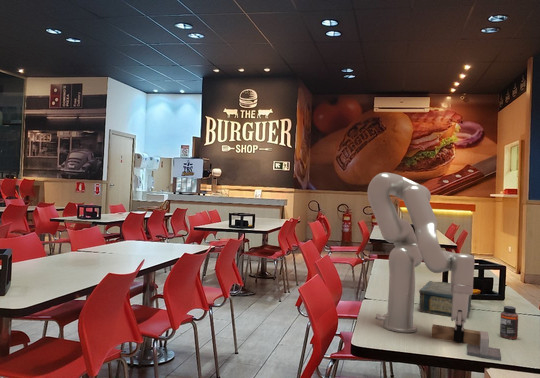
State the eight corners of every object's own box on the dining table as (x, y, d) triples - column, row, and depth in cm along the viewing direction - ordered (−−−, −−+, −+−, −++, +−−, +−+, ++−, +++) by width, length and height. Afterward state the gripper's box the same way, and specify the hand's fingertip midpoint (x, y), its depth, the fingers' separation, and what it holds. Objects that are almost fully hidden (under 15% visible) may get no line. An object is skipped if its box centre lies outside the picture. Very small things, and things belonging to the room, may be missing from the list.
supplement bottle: (512, 335, 185) (513, 305, 185) (520, 340, 179) (522, 309, 179) (496, 334, 185) (498, 304, 185) (504, 339, 179) (506, 308, 179)
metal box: (416, 312, 215) (417, 289, 215) (427, 299, 244) (428, 279, 245) (468, 320, 206) (469, 296, 206) (472, 306, 235) (474, 285, 235)
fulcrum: (466, 354, 158) (467, 336, 158) (467, 346, 167) (468, 329, 167) (501, 360, 154) (502, 341, 154) (499, 351, 163) (500, 333, 163)
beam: (431, 337, 176) (432, 326, 176) (432, 335, 179) (432, 324, 179) (486, 346, 169) (486, 335, 169) (485, 343, 172) (486, 332, 172)
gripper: (451, 283, 183) (448, 332, 183) (449, 291, 168) (446, 344, 168) (472, 286, 180) (470, 336, 180) (472, 294, 165) (469, 348, 165)
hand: (458, 339), depth 174 cm, fingers closed on beam, 4 cm apart
